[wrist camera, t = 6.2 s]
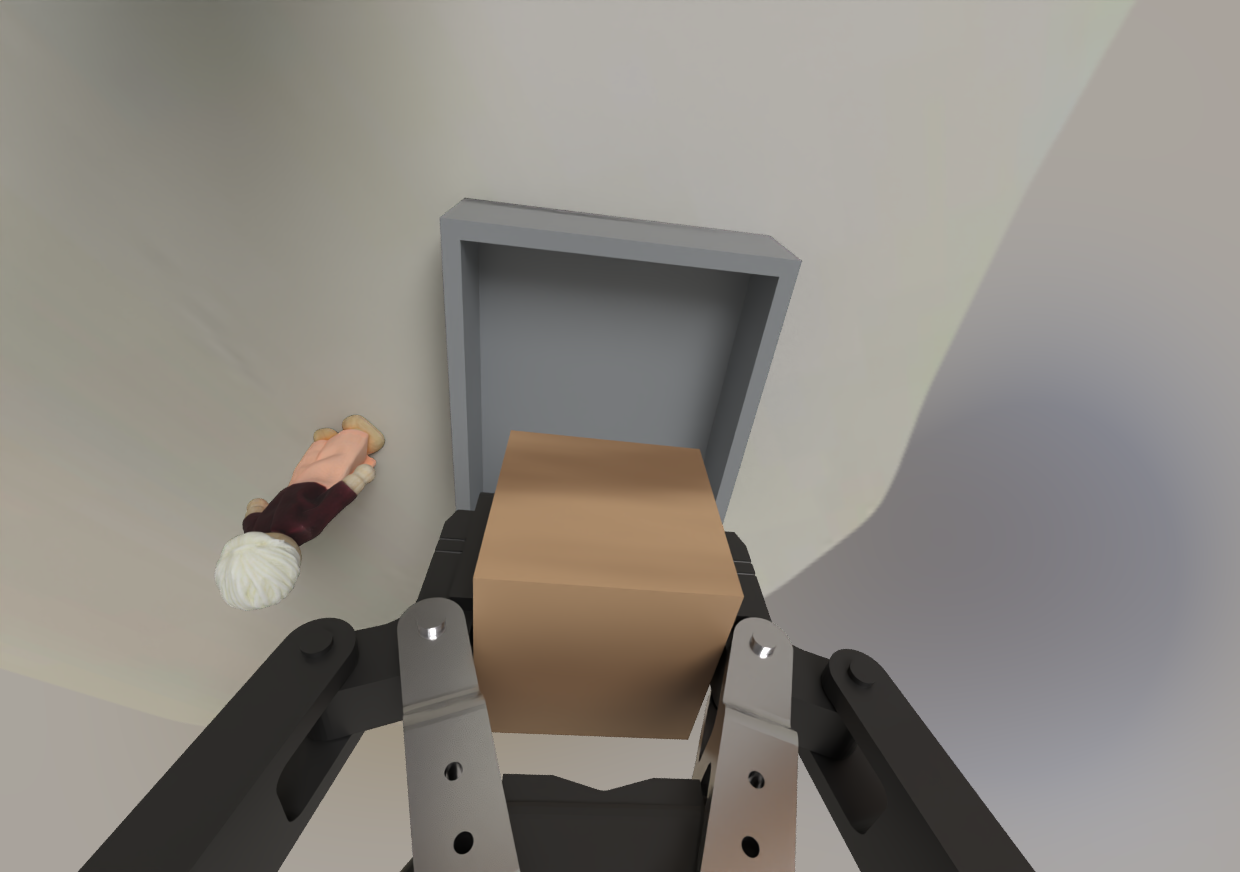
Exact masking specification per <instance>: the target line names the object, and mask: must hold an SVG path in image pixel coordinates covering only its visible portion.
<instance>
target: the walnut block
mask: <svg viewBox="0 0 1240 872" xmlns="http://www.w3.org/2000/svg"><path fill="white" fill-rule="evenodd" d="M743 598H744V595H743V592H742V589H741V585H740V582H739V579H738V575H737V572H736V569H735V565H734V562H733V559H732V555H731V552H730V549H729V545H728V542H727V539H726V535H725V532H724V529H723V525H722V522H721V519H720V515H719V512H718V509H717V505H716V502H715V499H714V495H713V492H712V489H711V485H710V482H709V479H708V475H707V472H706V469H705V465H704V462H703V459H702V455H701V452H700V449H694V448H684V447H674V446H664V445H654V444H644V443H634V442H624V441H614V440H604V439H594V438H584V437H574V436H564V435H554V434H544V433H534V432H524V431H514V430H511V432H510V436H509V440H508V443H507V447H506V451H505V455H504V459H503V463H502V467H501V471H500V475H499V479H498V483H497V486H496V490H495V494H494V498H493V502H492V506H491V510H490V514H489V518H488V522H487V526H486V530H485V533H484V537H483V541H482V545H481V549H480V553H479V557H478V561H477V565H476V569H475V573H474V576H473V661H474V666H475V671H476V676H477V681H478V686H479V690H480V693H481V692H482V693H483V695H484V699H485V703H486V707H487V712H488V717H489V722H490V727H491V732H500V733H526V734H552V735H579V736H605V737H632V738H658V739H686V740H688V738H689V736H690V733H691V731H692V728H693V726H694V723H695V720H696V718H697V715H698V713H699V710H700V707H701V705H702V702H703V700H704V697H705V695H706V692H707V690H708V687H709V685H710V682H711V680H712V677H713V675H714V672H715V669H716V667H717V664H718V662H719V659H720V657H721V654H722V652H723V649H724V646H725V644H726V641H727V639H728V636H729V634H730V631H731V629H732V626H733V624H734V621H735V618H736V616H737V613H738V611H739V608H740V606H741V603H742V601H743Z"/></svg>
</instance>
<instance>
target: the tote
mask: <svg viewBox="0 0 1240 872" xmlns="http://www.w3.org/2000/svg"><path fill="white" fill-rule="evenodd" d="M440 232H441V250H442V268H443V286H444V304H445V322H446V340H447V358H448V376H449V394H450V412H451V430H452V448H453V466H454V484H455V502H456V511H457V510H458V509H459V510H472V511H475V508H476V504H477V501H478V497H479V494H480V492H488V493H495V490H496V486H497V483H498V479H499V475H500V471H501V467H502V463H503V459H504V455H505V451H506V447H507V443H508V440H509V436H510V432H511V430H514V431H524V432H534V433H544V434H554V435H564V436H574V437H584V438H594V439H604V440H614V441H624V442H634V443H644V444H654V445H664V446H674V447H684V448H694V449H700V452H701V455H702V459H703V462H704V465H705V469H706V472H707V475H708V479H709V482H710V485H711V489H712V492H713V495H714V499H715V502H716V505H717V509H718V512H719V515H720V519H721V522H722V525H723V522H724V518H725V515H726V512H727V508H728V505H729V502H730V498H731V495H732V492H733V488H734V485H735V482H736V478H737V475H738V472H739V468H740V465H741V462H742V458H743V455H744V452H745V448H746V445H747V442H748V438H749V435H750V432H751V428H752V425H753V422H754V419H755V415H756V412H757V409H758V405H759V402H760V399H761V395H762V392H763V389H764V385H765V382H766V379H767V375H768V372H769V369H770V365H771V362H772V359H773V355H774V352H775V349H776V345H777V342H778V339H779V335H780V332H781V329H782V325H783V322H784V319H785V316H786V312H787V309H788V306H789V302H790V299H791V296H792V292H793V289H794V286H795V282H796V279H797V276H798V272H799V269H800V266H801V262H802V260H800V259H799V258H798V257H797V256H795V255H794V254H793V253H791V252H790V251H789V250H788V249H786V248H785V247H784V246H783V245H781V244H780V243H779V242H778V241H776V240H775V239H774V238H773V237H771V236H768V235H760V234H752V233H744V232H736V231H728V230H720V229H712V228H704V227H696V226H687V225H679V224H671V223H663V222H655V221H647V220H639V219H631V218H623V217H615V216H607V215H599V214H590V213H582V212H574V211H566V210H558V209H550V208H542V207H534V206H526V205H518V204H510V203H502V202H493V201H485V200H477V199H469V198H464V199H463V200H461V201H460V202H459V203H458V204H456V205H455V206H454V207H452V208H451V209H450V210H449V211H447V212H446V213H445V214H444V215H442V216H441V217H440Z"/></svg>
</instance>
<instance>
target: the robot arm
mask: <svg viewBox="0 0 1240 872" xmlns="http://www.w3.org/2000/svg"><path fill="white" fill-rule="evenodd" d="M494 494H495V493H488V492H480V494H479V497H478V501H477V504H476V508H475V511H472V510H459V509H458V510H457V511H456V512H455V513H454V514H453V515H452V516H451V517H450V518H449V519H448V520H447V521H446V522H445V524H444V527H443V529H442V532H441V535H440V540H439V541H438V544H437V546H436V549H435V553H434V555H433V558H432V560H431V563H430V566H429V569H428V572H427V574H426V577H425V580H424V583H423V586H422V588H421V591H420V594H419V597H418V599H417V601H416V603H415V604H413V605H412V606H410V607H409V608H408V609H407V610H406V611H405V612H404V613H403V614H402V616H401V617H400V618H399V619H397V620H395V621H393V622H390V623H388V624H384V625H381V626H376V627H372V628H367V629H362V630H357V631H354V629H353V628H352V626H351V625H350V624H349V623H347V622H345V621H343V620H341V619H336V618H322V619H317V620H313V621H310V622H308V623H306V624H303V625H302V626H300V627H298V628H297V629H295V630H294V631H293V632H291V633H290V634H289V635H288V636H287V637H286V638H285V639H284V641H283V642H282V643H281V644H280V645H279V646H278V647H277V648H276V650H275V651H274V652H273V653H272V654H271V655H270V656H269V657H268V659H267V660H266V661H265V662H264V663H263V664H262V665H261V666H260V668H259V669H258V670H257V671H256V672H255V673H254V674H253V675H252V677H251V678H250V679H249V680H248V681H247V682H246V683H245V684H244V686H243V687H242V688H241V689H240V690H239V691H238V692H237V693H236V695H235V696H234V697H233V698H232V699H231V700H230V701H229V702H228V704H227V705H226V706H225V707H224V708H223V709H222V710H221V711H220V713H219V714H218V715H217V716H216V717H215V718H214V719H213V720H212V722H211V723H210V724H209V725H208V726H207V727H206V728H205V729H204V731H203V732H202V733H201V734H200V735H199V736H198V737H197V738H196V740H195V741H194V742H193V743H192V744H191V745H190V746H189V747H188V749H187V750H186V751H185V752H184V753H183V754H182V755H181V757H180V758H179V759H178V760H177V761H176V762H175V763H174V764H173V765H172V767H171V768H170V769H169V770H168V771H167V772H166V773H165V774H164V776H163V777H162V778H161V779H160V780H159V781H158V782H157V783H156V785H155V786H154V787H153V788H152V789H151V790H150V792H149V793H148V794H147V795H146V796H145V797H144V798H143V799H142V800H141V801H140V803H139V804H138V805H137V806H136V807H135V808H134V809H133V810H132V812H131V813H130V814H129V815H128V816H127V817H126V818H125V819H124V821H123V822H122V823H121V824H120V825H119V826H118V828H116V830H115V831H114V832H113V833H112V834H111V835H110V836H109V837H108V839H107V840H106V841H105V842H104V843H103V844H102V845H101V846H100V848H99V849H98V850H97V851H96V852H95V853H94V854H93V856H92V857H91V858H90V859H89V860H88V861H87V862H86V863H85V864H84V866H83V867H82V868H81V869H80V870H79V871H78V872H278V870H279V868H280V867H281V865H282V863H283V862H284V860H285V859H286V857H287V856H288V854H289V852H290V851H291V849H292V848H293V846H294V844H295V843H296V841H297V839H298V838H299V836H300V835H301V833H302V831H303V830H304V828H305V827H306V825H307V823H308V822H309V820H310V819H311V817H312V815H313V814H314V812H315V810H316V809H317V807H318V806H319V804H320V802H321V801H322V799H323V798H324V796H325V794H326V793H327V791H328V790H329V788H330V786H331V785H332V783H333V782H334V780H335V778H336V777H337V775H338V773H339V772H340V770H341V769H342V767H343V765H344V764H345V762H346V760H347V759H348V757H349V756H350V754H351V753H352V751H353V749H354V748H355V746H356V745H357V743H358V741H359V740H360V738H361V736H362V735H363V733H364V731H366V730H369V729H373V728H376V727H380V726H384V725H387V724H391V723H394V722H398V721H402V720H403V728H404V742H405V756H406V769H407V783H408V797H409V811H410V825H411V838H412V852H413V857H412V859H411V860H410V861H409V862H408V863H407V864H406V865H405V867H404V868H403V869H402V870H401V871H400V872H795V854H796V816H797V778H798V754H799V756H800V758H801V759H802V761H803V763H804V765H805V767H806V769H807V771H808V773H809V775H810V776H811V778H812V780H813V782H814V784H815V786H816V788H817V789H818V792H819V794H820V795H821V797H822V799H823V801H824V803H825V805H826V807H827V809H828V810H829V812H830V814H831V816H832V818H833V820H834V822H835V824H836V826H837V827H838V829H839V831H840V833H841V835H842V837H843V839H844V841H845V843H846V845H847V847H848V848H849V850H850V852H851V854H852V856H853V858H854V860H855V862H856V864H857V865H858V867H859V869H860V871H861V872H1035V871H1034V870H1033V868H1032V867H1031V865H1030V864H1029V863H1028V861H1027V860H1026V859H1025V857H1024V856H1023V855H1022V854H1021V852H1020V851H1019V849H1018V848H1017V847H1016V845H1015V844H1014V843H1013V841H1012V840H1011V839H1010V837H1009V836H1008V835H1007V833H1006V832H1005V831H1004V829H1003V828H1002V827H1001V825H1000V824H999V823H998V821H997V820H996V819H995V817H994V816H993V814H992V813H991V812H990V811H989V809H988V808H987V806H986V805H985V804H984V803H983V801H982V800H981V799H980V797H979V796H978V794H977V793H976V792H975V790H974V789H973V788H972V787H971V785H970V784H969V782H968V781H967V780H966V779H965V777H964V776H963V774H962V773H961V772H960V770H959V769H958V768H957V767H956V765H955V764H954V762H953V761H952V760H951V758H950V757H949V756H948V755H947V753H946V752H945V750H944V749H943V748H942V746H941V745H940V744H939V742H938V741H937V740H936V738H935V737H934V736H933V734H932V733H931V732H930V730H929V729H928V728H927V726H926V725H925V724H924V722H923V721H922V720H921V718H920V717H919V715H918V714H917V713H916V711H915V710H914V709H913V708H912V706H911V705H910V703H909V702H908V701H907V699H906V698H905V697H904V696H903V694H902V693H901V691H900V690H899V689H898V687H897V686H896V685H895V684H894V682H893V681H892V679H891V678H890V677H889V675H888V674H887V673H886V671H885V670H884V669H883V668H882V667H881V666H880V665H879V664H878V663H877V662H876V661H875V660H873V659H872V658H871V657H869V656H868V655H866V654H864V653H862V652H859V651H856V650H852V649H842V650H838V651H836V652H835V653H834V654H833V655H832V656H831V658H830V659H827V658H824V657H821V656H818V655H815V654H813V653H810V652H807V651H804V650H802V649H799V648H797V647H795V646H793V645H792V643H791V641H790V639H789V638H788V636H787V635H786V633H785V632H784V631H783V630H782V629H781V628H779V627H778V626H777V625H776V624H774V623H772V621H771V619H770V616H769V613H768V610H767V607H766V604H765V601H764V598H763V595H762V592H761V589H760V586H759V583H758V580H757V577H756V576H755V571H754V568H753V565H752V564H751V559H750V556H749V553H748V550H747V548H746V545H745V544H744V543H743V542H742V541H741V540H740V538H739V537H738V536H737V535H736V534H735V532H725V531H724V532H725V535H726V539H727V542H728V545H729V549H730V552H731V555H732V559H733V562H734V565H735V569H736V572H737V575H738V579H739V582H740V585H741V589H742V592H743V595H744V598H743V601H742V603H741V606H740V608H739V611H738V613H737V616H736V618H735V621H734V624H733V626H732V629H731V631H730V634H729V636H728V639H727V641H726V644H725V646H724V649H723V652H722V654H721V657H720V659H719V662H718V664H717V667H716V669H715V672H714V675H713V677H712V680H711V682H710V686H711V691H710V693H709V696H708V699H707V704H706V709H705V714H704V719H703V725H702V730H701V735H700V740H699V746H698V751H697V756H696V761H695V767H694V771H693V775H692V779H667V778H652V779H648V780H644V781H641V782H637V783H633V784H630V785H626V786H623V787H619V788H615V789H611V790H608V791H601V790H597V789H594V788H591V787H588V786H585V785H582V784H578V783H575V782H572V781H569V780H566V779H563V778H560V777H557V776H554V775H525V774H503V780H501V776H500V771H499V766H498V761H497V756H496V751H495V746H494V741H493V736H492V732H491V727H490V722H489V717H488V712H487V707H486V703H485V699H484V695H483V693H482V692H481V693H480V690H479V686H478V681H477V676H476V671H475V666H474V661H473V576H474V573H475V569H476V565H477V561H478V557H479V553H480V549H481V545H482V541H483V537H484V533H485V530H486V526H487V522H488V518H489V514H490V510H491V506H492V502H493V498H494Z"/></svg>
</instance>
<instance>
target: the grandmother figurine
mask: <svg viewBox="0 0 1240 872" xmlns="http://www.w3.org/2000/svg"><path fill="white" fill-rule="evenodd" d="M342 428H343V431H341V432H339V433H337V432H336V431H334V430H332V429H329V428H324V429H319V430H317V431H316V432H315V433H314V437H313V438H314V443H313V444H312V445H311V446H310V447H309V449H308V450H307V452H306V453H305V455H304V456H303V458H302V459H301V461H300V462H299V463H298V465H297V466H296V468H295V470H294V472H293V476H292V479H291V481H290V483H289V486H288V487H287V488H285V489H283V490H282V491H280V492H279V493H278V495H277V496H276V497H275V498H274V499H273V500H272V501H271V502H270V503H269V504H268V503H267V502H266V501H265V500H264V499H260V498H258V499H253V500H252V501H250V502H249V503H248V505H247V512H246V515H245V519H244V520H243V530H244V534H242V535H239V536H236V537H234V538H232V539H231V540H230V541H228V542H227V543H226V545H225V546H224V548H223V550H222V553H221V557H220V559H219V561H218V562H217V564H216V570H215V582H216V585H217V587H218V589H219V590H220V593H221V596H222V598H223V600H224V601H225V602H226V603H227V604H228V605H229V606H231V607H233V608H237V609H240V610H244V611H251V610H257V609H263V608H266V607H269V606H272V605H274V604H278V603H279V602H280V601H281V600H282V599H284V598H286V597H287V595H288V594H289V593H290V592H291V590H292V589H293V588H294V584H295V582H296V580H297V577H298V576H299V574H300V569H299V568H300V565H301V560H302V555H301V550H300V548H299V546H301V545H302V544H304V543H306V542H308V541H310V540H312V539H313V538H315V537H317V536H318V535H319V534H320V533H321V532H322V531H323V529H324V528H325V527H326V526H327V524H328V523H329V522H330V521H331V520H332V519H333V518H334V517H336V515H337V514H338V513H340V512H341V511H342V510H343V509H344V508H345V507H346V506H347V505H349V504H350V503H351V502H352V501H353V500H354V499H355V498H356V497H357V495H358V494H359V493H360V492H361V491H362V490H363V488H364V486H365V484H367V483H370V482H371V481H372V480H373V479H374V478H375V475H376V472H375V469H374V466H375V465H376V460H374V459H373V458H370V457H369V456H368V455H369V454H371V453H374V452H377V451H378V450H380V449H381V448H382V447H383V445H384V442H385V439H384V436H383V435H382V433H381V432H380V431H379V430H377V428H375V427H374V426H373V425H372V424H371V423H370V422H369V421H367V420H366V419H365V418H364V417H362V416H359V415H351V416H349V417H347V418H346V419H344V420H343V423H342Z"/></svg>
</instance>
